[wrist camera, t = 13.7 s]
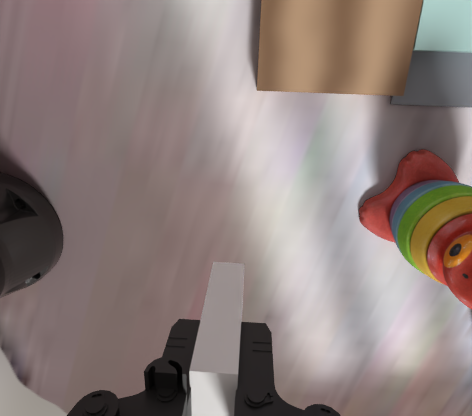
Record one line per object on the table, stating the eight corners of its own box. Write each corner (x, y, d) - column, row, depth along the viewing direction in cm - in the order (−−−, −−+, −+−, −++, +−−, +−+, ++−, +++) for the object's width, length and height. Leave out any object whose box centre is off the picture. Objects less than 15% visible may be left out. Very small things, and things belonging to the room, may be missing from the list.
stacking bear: (416, 141, 38) (540, 197, 21) (483, 191, 40) (646, 279, 23) (350, 216, 42) (412, 314, 25) (414, 259, 43) (512, 378, 27)
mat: (390, 103, 37) (391, 104, 36) (426, -86, 31) (427, -88, 30) (498, 108, 36) (500, 108, 36) (555, -84, 30) (558, -85, 30)
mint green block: (405, 50, 34) (414, 49, 33) (419, -21, 32) (428, -26, 30) (499, 53, 34) (513, 52, 32) (519, -19, 32) (536, -24, 30)
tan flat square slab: (256, 88, 37) (256, 90, 34) (265, -75, 32) (266, -89, 29) (392, 93, 36) (403, 95, 34) (423, -72, 31) (439, -86, 28)
